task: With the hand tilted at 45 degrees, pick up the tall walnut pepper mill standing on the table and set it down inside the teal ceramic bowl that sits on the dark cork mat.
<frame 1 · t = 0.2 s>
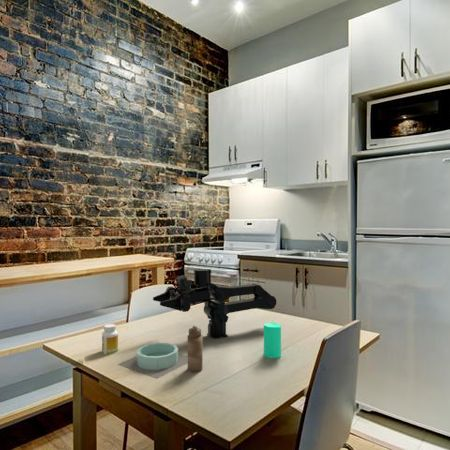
hand: (156, 301, 131), 17 cm above the table, tool horizontal, fingers open, 9 cm apart
bowl: (157, 361, 115), resting on mat
mat: (157, 363, 115), on the table
mill: (195, 371, 109), on the table
candle: (272, 355, 122), on the table
supplement bottle: (110, 353, 124), on the table
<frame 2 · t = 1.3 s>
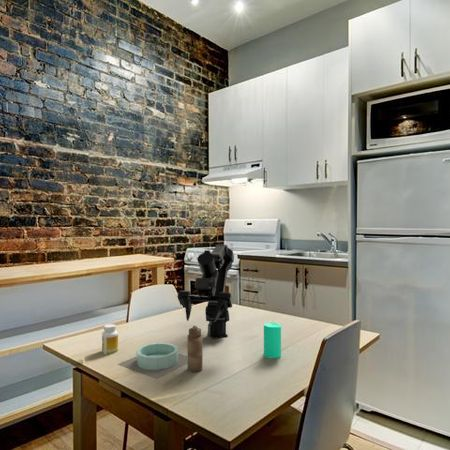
hand: (200, 320, 116), 14 cm above the table, tool tilted 45°, fingers open, 9 cm apart
nothing on the table moved.
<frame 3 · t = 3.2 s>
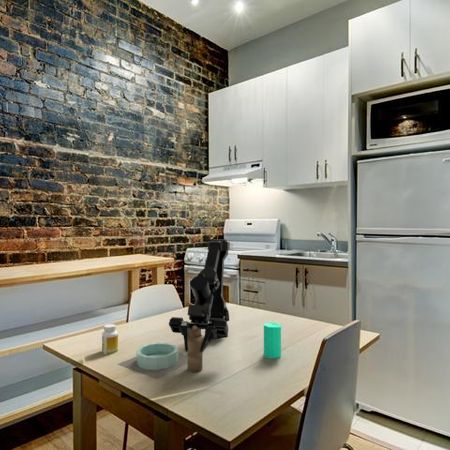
hand: (193, 351, 107), 7 cm above the table, tool tilted 45°, fingers closed on mill, 5 cm apart
mill: (195, 371, 109), on the table, touching gripper
everything else where it was.
when the fingers open (9 cm above the table, at t = 7.2 s): mill drops 1 cm, resting on bowl.
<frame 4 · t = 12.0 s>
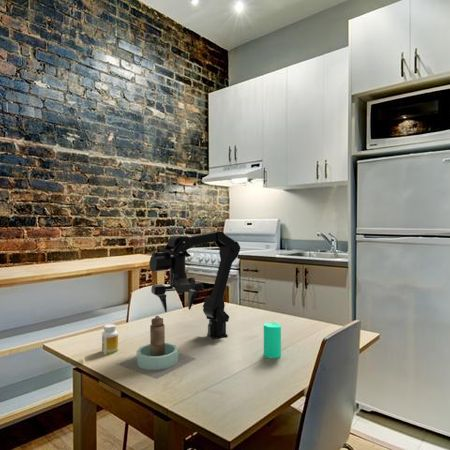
hand: (177, 310, 131), 13 cm above the table, tool pointing down, fingers open, 9 cm apart
mill: (157, 358, 115), point 1 cm above the table, touching bowl
everything else where it was.
at the end: mill 0.1 cm from the bowl (horizontally); mill point 1.4 cm above the table; the gripper is holding nothing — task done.
